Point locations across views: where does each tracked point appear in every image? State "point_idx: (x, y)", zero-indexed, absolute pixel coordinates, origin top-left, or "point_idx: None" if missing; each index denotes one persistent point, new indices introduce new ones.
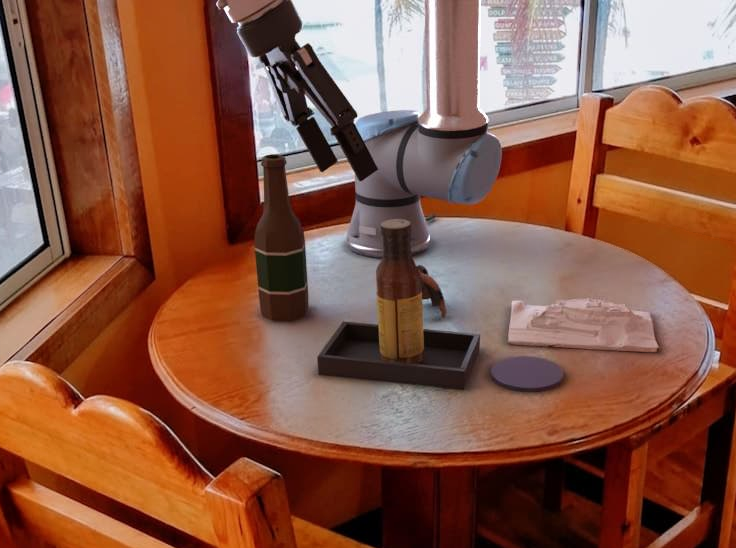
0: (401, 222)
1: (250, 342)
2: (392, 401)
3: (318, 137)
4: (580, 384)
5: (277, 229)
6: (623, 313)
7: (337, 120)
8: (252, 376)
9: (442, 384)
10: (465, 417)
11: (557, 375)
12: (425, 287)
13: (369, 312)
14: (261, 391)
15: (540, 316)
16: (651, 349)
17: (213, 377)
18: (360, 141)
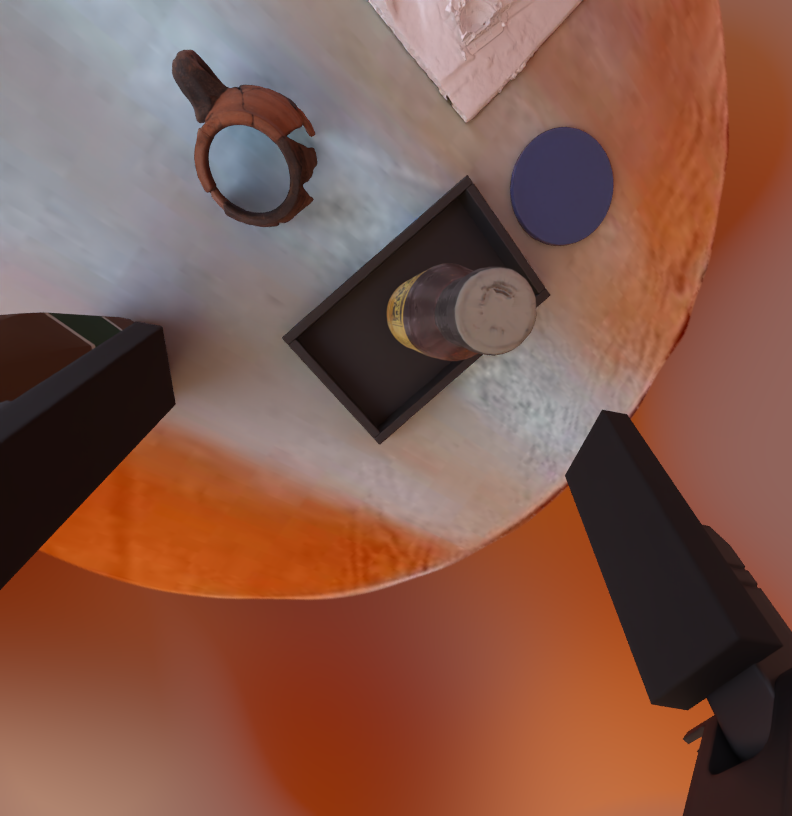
0: (502, 294)
1: (213, 467)
2: (500, 396)
3: (62, 436)
4: (626, 145)
5: None
6: None
7: None
8: (326, 513)
9: None
10: (588, 346)
11: (601, 159)
12: (299, 144)
13: (207, 231)
14: (374, 521)
15: (461, 3)
16: None
17: (298, 557)
18: (740, 568)
